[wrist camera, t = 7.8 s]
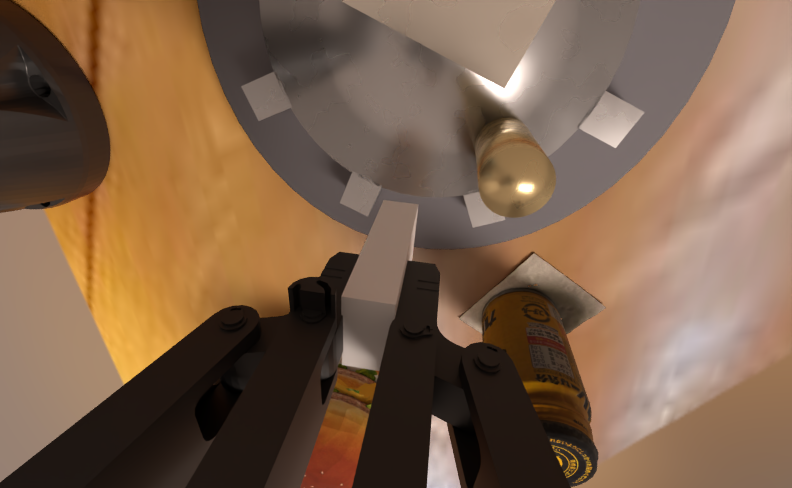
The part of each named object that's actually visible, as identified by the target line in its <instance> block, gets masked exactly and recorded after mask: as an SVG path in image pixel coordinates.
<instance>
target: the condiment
mask: <svg viewBox="0 0 792 488" xmlns="http://www.w3.org/2000/svg"><path fill="white" fill-rule="evenodd" d="M534 284H537V286H533V285H534ZM528 285H531V287H528ZM605 308H606V307H605V306H604V305H602V304H601V303H600V302H598V301H597V300H596V299H595V298H593V297H592V296H591V295H590V294H588V293H587V292H586V291H584V290H583V289H582V288H581V287H579V286H578V285H576V284H575V283H574V282H572V281H571V280H570V279H568V278H567V277H566V276H565V275H564V274H562V273H560V272H559V271H557V270H556V269H555V268H553V267H552V266H551V265H550V264H548V263H547V262H545V261H544V260H543V259H541V258H540V257H539V256H537V255H536V254H535V253H534V254H533V255H531V256H530V257H529V258H528V259H527V260H526V261H525V262H524V263H522V264H521V265H520V266H519V267H518V268H517V269H516V270H515V271H514V272H512V273H511V274H510V275H509V276H507V277H506V278H505V279H504V280H503V281H502V282H500V283H499V284H498V285H497V286H496V287H494V288H493V289H492V290H491V291H489V292H488V293H487V294H486V295H485V296H484V297H483V298H481V299H480V300H479V301H478V302H477V303H475V304H474V305H473V306H472V307H471V308H470V309H469V310H467V311H466V312H465V313H464V314H463V315H462V316H461V317H460V318H459V319H460V320H461V321H463V322H464V323H466V324H468V325H469V326H471V327H472V328H474V329H475V330H477V331H479V332H480V333H482V338H483V343H490V344H493V345H495V346H497V347H500V348H501V349H502V350H504V351H505V352H506V353H507V354H508V355H509V356H510V358H511V359H512V361H513V363H514V365H515V367H516V369H517V371H518V374H519V376H520V378H521V380H522V382H523V384H524V387H525V389H526V391H527V393H528V395H529V397H530V400H531V402H532V404H533V406H534V408H535V411H536V413H537V415H538V417H539V419H540V421H541V424H542V426H543V428H544V430H545V432H546V435H547V437H548V439H549V441H550V443H551V445H552V448H553V450H554V452H555V454H556V456H557V458H558V461H559V463H560V465H561V467H562V469H563V472H564V474H565V476H566V478H567V480H568V482H569V485H570V487H573V486H577V485H580V484H582V483H584V482H586V481H588V480H589V479H590V478H592V477H593V475H594V474H595V472H596V470H597V460H598V451H597V449H596V446H595V445H594V442H593V436H592V429H591V427H590V422H591V407H590V402H589V400H588V397H587V394H586V392H585V389H584V386H583V383H582V380H581V377H580V374H579V371H578V368H577V365H576V362H575V359H574V356H573V353H572V350H571V347H570V344H569V341H568V338H567V335H566V334H568V333H570V332H571V331H572V330H573V329H575V328H576V327H578V326H579V325H580V324H582V323H583V322H585V321H586V320H588V319H590V318H592V317H593V316H595V315H597V314H598V313H599V312H601V311H602V310H604V309H605ZM561 318H562V319H561Z"/></svg>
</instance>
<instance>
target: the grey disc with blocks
mask: <svg viewBox="0 0 792 488" xmlns="http://www.w3.org/2000/svg"><path fill="white" fill-rule="evenodd" d="M640 1H641V0H259V5H260V17H261V23H262V29H263V34H264V40H265V45H266V48H267V52H268V55H269V58H270V62H271V65H272V69H273V71H274V72H272V73H270V74H267V75H265V76H263V77H261V78H259V79H256V80H254V81H252V82H250V83H248V84H245V85H243V86H241V87H242V89H243V91H244V93H245V95H246V97H247V99H248V101H249V103H250V105H251V107H252V109H253V111H254V113H255V115H256V117H257V119H258V121H260V120H262V119H265V118H267V117H270V116H272V115H275V114H277V113H280V112H282V111H285V110H287V109H289V108H291V110H292V111H293V113H294V114H295V116H296V117H297V119H298V120H299V122H300V123H301V125H302V126H303V128H304V129H305V130H306V131H307V133H308V134H309V135H310V136H311V137H312V138H313V140H314V141H315V142H316V143H317V144H318V145H319V146H320V147H321V148H322V149H323V150H324V151H325V152H326V153H327V154H328V155H329V156H330V157H331V158H332V159H334V160H335V161H336V162H338V163H339V164H340V165H342V166H343V167H344V168H346V169H347V170H348V171H350V172H352V174H351V176H350V179H349V181H348V184H347V186H346V189H345V191H344V193H343V196H342V198H341V201H340V203H341V204H343V205H345V206H347V207H349V208H351V209H353V210H355V211H357V212H359V213H361V214H364V215H366V216H368V215H369V213H370V212H371V210H372V208H373V206H374V204H375V202H376V200H377V198H378V196H379V193H380V191H381V189H382V188H384V189H388V190H391V191H394V192H398V193H401V194H407V195H413V196H419V197H440V198H441V197H453V196H462V195H463V196H464V200H465V203H466V206H467V210H468V213H469V217H470V220H471V223H472V227H473V228H474V227H478V226H483V225H487V224H491V223H495V222H499V221H503V220H505V217H509V218H518V217H524V216H527V215H530V214H532V213H534V212H536V211H538V210H539V209H541V208H542V207H543V206H544V205H545V204H546V203H547V202H548V201H549V199H550V198H551V196H552V194H553V192H554V189H555V185H556V173H555V169H554V167H553V165H552V163H551V161H550V160H549V158H548V156H550V155H551V154H552V153H554V152H555V151H556V150H557V149H558V148H560V147H561V146H562V145H563V144H564V143H565V142H566V141H567V140H568V139H569V138H570V137H571V136H572V135H573V134H574V133H575V132H576V131H577V129H578V128H579V129H581V130H583V131H584V132H586V133H588V134H590V135H592V136H594V137H596V138H598V139H599V140H601V141H603V142H605V143H607V144H609V145H611V146H612V147H614V148H616V147H617V146H618V145H619V143H620V142H621V141H622V140H623V138H624V137H625V136H626V135H627V133H628V132H629V131H630V130H631V129H632V127H633V126H634V125H635V124H636V122H637V121H638V120H639V119H640V117H641V116H642V115H643V114H644V113H645V112H643V111H642V110H640V109H638V108H636V107H634V106H633V105H631V104H629V103H627V102H625V101H623V100H622V99H620V98H618V97H616V96H614V95H613V94H611V93H609V92H607V91H606V90H607V88H608V87H609V85H610V83H611V81H612V79H613V77H614V75H615V73H616V71H617V69H618V67H619V65H620V63H621V61H622V59H623V56H624V53H625V51H626V48H627V45H628V43H629V40H630V37H631V35H632V32H633V28H634V24H635V20H636V17H637V13H638V9H639V5H640Z"/></svg>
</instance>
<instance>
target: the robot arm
mask: <svg viewBox="0 0 792 488" xmlns="http://www.w3.org/2000/svg"><path fill="white" fill-rule="evenodd" d="M109 161H110V141H109V134H108V129H107V125H106V122H105V118H104V115H103V112H102V110H101V107H100V105H99V102H98V100H97V98H96V96H95V94H94V92H93V90H92V88H91V86H90V84H89V82H88V81H87V79H86V78H85V76H84V74H83V73H82V71H81V70H80V68H79V67H78V65H77V64H76V63H75V61H74V60H73V58H72V57H71V56H70V55H69V53H68V52H67V51H66V50H65V48H64V47H63V46H62V45H61V44H60V43H59V42H58V41H57V39H56V38H55V37H54V36H53V35H52V34H51V33H50V32H49V31H48V30H47V29H46V28H44V27H43V26H42V25H41V24H40V23H39V22H38V21H37V20H35V19H34V18H33V17H32V16H30V15H29V14H28V13H27V12H25V11H24V10H23V9H21V8H20V7H18V6H17V5H15V4H14V3H12V2H10V1H9V0H0V213H1V212H9V211H15V210H21V209H46V208H52V207H56V206H60V205H63V204H66V203H68V202H71V201H73V200H76V199H78V198H80V197H83V196H85V195H87V194H89V193H91V192H92V191H94V190H95V189H96V188H97V187H98V186H99V185H100V184H101V183H102V181H103V179H104V177H105V176H106V173H107V170H108V166H109ZM417 213H418V204H412V203H404V202H396V201H388V200H383V203H382V205H381V207H380V209H379V212H378V214H377V216H376V219H375V221H374V223H373V225H372V228H371V230H370V232H369V234H368V237H367V239H366V241H365V244H364V246H363V248H362V250H361V253H360V255H358V254H351V253H344V252H339V253H337V254H336V255H334V256H333V257H331V258H330V259H329V261H328V263H327V264H326V266H325V269H324V270H323V271H322V273H321V276H320V277H308V278H303V279H300V280H298V281H296V282H294V283H292V284H291V285H290V286H289V287H288V294H289V303H290V312H289V314H287V315H284V316H278V317H268V318H259V315H258V313H257V311H256V310H255V309H253V308H251V307H248V306H243V305H240V306H231V307H228V308H225V309H222V310H220V311H219V312H217V313H215V314H214V315H212V316H211V317H210V318H209V319H207V320H206V321H205V322H204V323H202V324H201V325H200V326H199V327H197V328H196V329H195V330H193V331H192V332H191V333H190V334H188V335H187V336H186V337H185V338H183V339H182V340H181V341H179V342H178V343H177V344H176V345H174V346H173V347H172V348H171V349H169V350H168V351H167V352H165V353H164V354H163V355H162V356H160V357H159V358H158V359H157V360H155V361H154V362H153V363H151V364H150V365H149V366H148V367H146V368H145V369H144V370H143V371H141V372H140V373H139V374H137V375H136V376H135V377H134V378H132V379H131V380H130V381H129V382H127V383H126V384H125V385H123V386H122V387H121V388H120V389H118V390H117V391H116V392H115V393H113V394H112V395H111V396H110V397H108V398H107V399H106V400H104V401H103V402H102V403H101V404H99V405H98V406H97V407H95V408H94V409H93V410H92V411H90V412H89V413H88V414H87V415H85V416H84V417H83V418H82V419H80V420H79V421H78V422H76V423H75V424H74V425H73V426H71V427H70V428H69V429H68V430H66V431H65V432H64V433H62V434H61V435H60V436H59V437H57V438H56V439H55V440H54V441H52V442H51V443H50V444H48V445H47V446H46V447H45V448H43V449H42V450H41V451H40V452H38V453H37V454H36V455H34V456H33V457H32V458H31V459H29V460H28V461H27V462H26V463H24V464H23V465H22V466H20V467H19V468H18V469H17V470H15V471H14V472H13V473H12V474H11V475H9V476H8V477H6V478H5V479H4V480H3V481H2V482H0V488H300V487H301V484H302V481H303V478H304V475H305V472H306V469H307V466H308V463H309V460H310V458H311V455H312V452H313V449H314V446H315V443H316V440H317V437H318V434H319V431H320V428H321V425H322V423H323V420H324V417H325V414H326V411H327V408H328V405H329V402H330V399H331V396H332V393H333V390H334V387H335V385H336V382H337V376H338V364H339V361H340V358H341V356H342V365H346V366H352V367H358V368H364V369H370V370H376V371H379V374H378V378H377V383H376V387H375V391H374V395H373V400H372V404H371V408H370V412H369V417H368V421H367V425H366V430H365V434H364V438H363V442H362V447H361V451H360V455H359V459H358V464H357V468H356V472H355V476H354V481H353V485H352V488H427V474H428V459H429V445H430V431H431V417H432V415H434V416H436V417H438V418H440V419H442V420H444V421H445V422H447V426H448V431H449V435H450V440H451V444H452V449H453V453H454V458H455V462H456V467H457V471H458V476H459V480H460V485H461V488H571V487H570V485H569V482H568V480H567V478H566V476H565V474H564V472H563V469H562V467H561V465H560V463H559V461H558V458H557V456H556V454H555V452H554V450H553V448H552V445H551V443H550V441H549V439H548V437H547V435H546V432H545V430H544V428H543V426H542V424H541V421H540V419H539V417H538V415H537V413H536V411H535V408H534V406H533V404H532V402H531V400H530V397H529V395H528V393H527V391H526V389H525V387H524V384H523V382H522V380H521V378H520V376H519V374H518V371H517V369H516V367H515V365H514V363H513V361H512V359H511V358H510V356H509V355H508V354H507V353H506V352H505V351H504V350H502V349H501V348H500V347H497V346H495V345H493V344H490V343H483V342H478V343H473V344H470V345H469V346H467V347H466V348H463V347H461V346H459V345H456V344H454V343H452V342H451V341H449V340H448V339H446V338H445V337H444V336H443V335H442V334H441V332H440V331H439V329H438V327H437V311H438V297H439V283H440V272H439V270H438V269H437V267H436V265H435V264H429V263H422V262H415V261H412V257H413V248H414V240H415V231H416V222H417Z"/></svg>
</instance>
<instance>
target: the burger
mask: <svg viewBox="0 0 792 488" xmlns="http://www.w3.org/2000/svg"><path fill="white" fill-rule="evenodd" d="M378 374H379V371H376V370H370V369H364V368H358V367H352V366H346V365H342V356H341V358H340V361H339V364H338V376H337V382H336V385H335V387H334V390H333V393H332V396H331V399H330V402H329V405H328V408H327V411H326V414H325V417H324V420H323V423H322V425H321V428H320V431H319V434H318V437H317V440H316V443H315V446H314V449H313V452H312V455H311V458H310V460H309V463H308V466H307V469H306V472H305V475H304V478H303V481H302V484H301V487H300V488H352V485H353V481H354V476H355V472H356V468H357V464H358V459H359V455H360V451H361V447H362V442H363V438H364V434H365V430H366V425H367V421H368V417H369V412H370V408H371V404H372V400H373V395H374V391H375V387H376V383H377V378H378Z"/></svg>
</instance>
